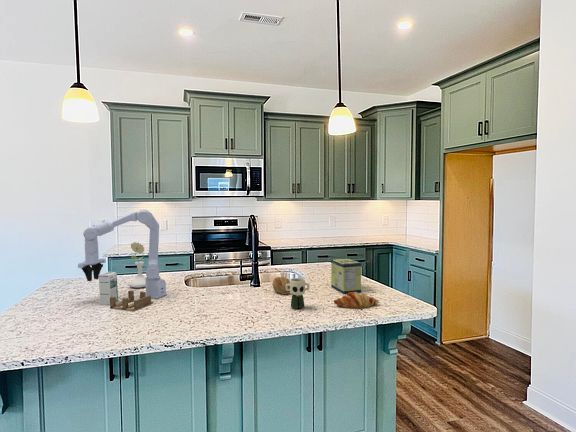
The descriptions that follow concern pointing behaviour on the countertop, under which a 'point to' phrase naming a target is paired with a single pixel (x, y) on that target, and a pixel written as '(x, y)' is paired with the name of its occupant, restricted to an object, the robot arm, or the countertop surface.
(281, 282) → the bread roll
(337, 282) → the protein box
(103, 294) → the syrup box
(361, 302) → the croissant
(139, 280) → the flower in vase
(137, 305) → the rest
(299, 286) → the character mug
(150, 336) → the countertop surface
